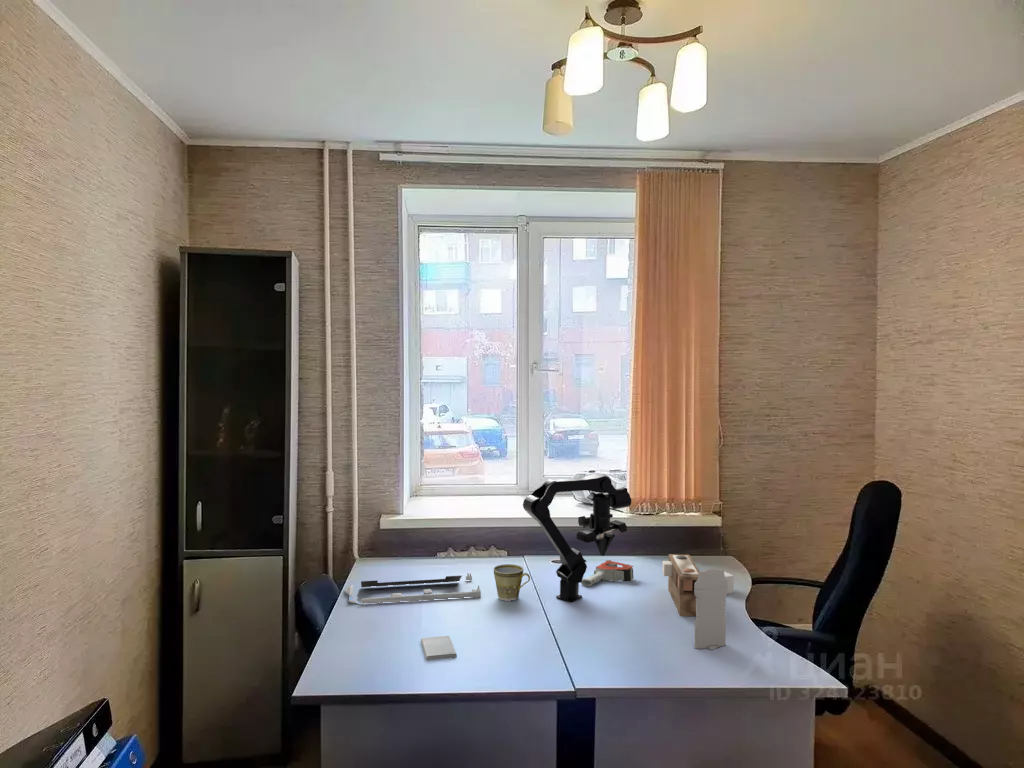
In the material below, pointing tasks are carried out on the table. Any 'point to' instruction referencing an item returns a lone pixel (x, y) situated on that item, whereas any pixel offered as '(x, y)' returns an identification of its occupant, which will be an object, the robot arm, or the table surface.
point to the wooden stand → (685, 571)
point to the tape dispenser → (610, 573)
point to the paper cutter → (427, 595)
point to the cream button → (667, 568)
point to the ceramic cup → (509, 581)
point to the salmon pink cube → (687, 585)
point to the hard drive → (438, 648)
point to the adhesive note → (729, 581)
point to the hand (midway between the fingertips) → (602, 555)
